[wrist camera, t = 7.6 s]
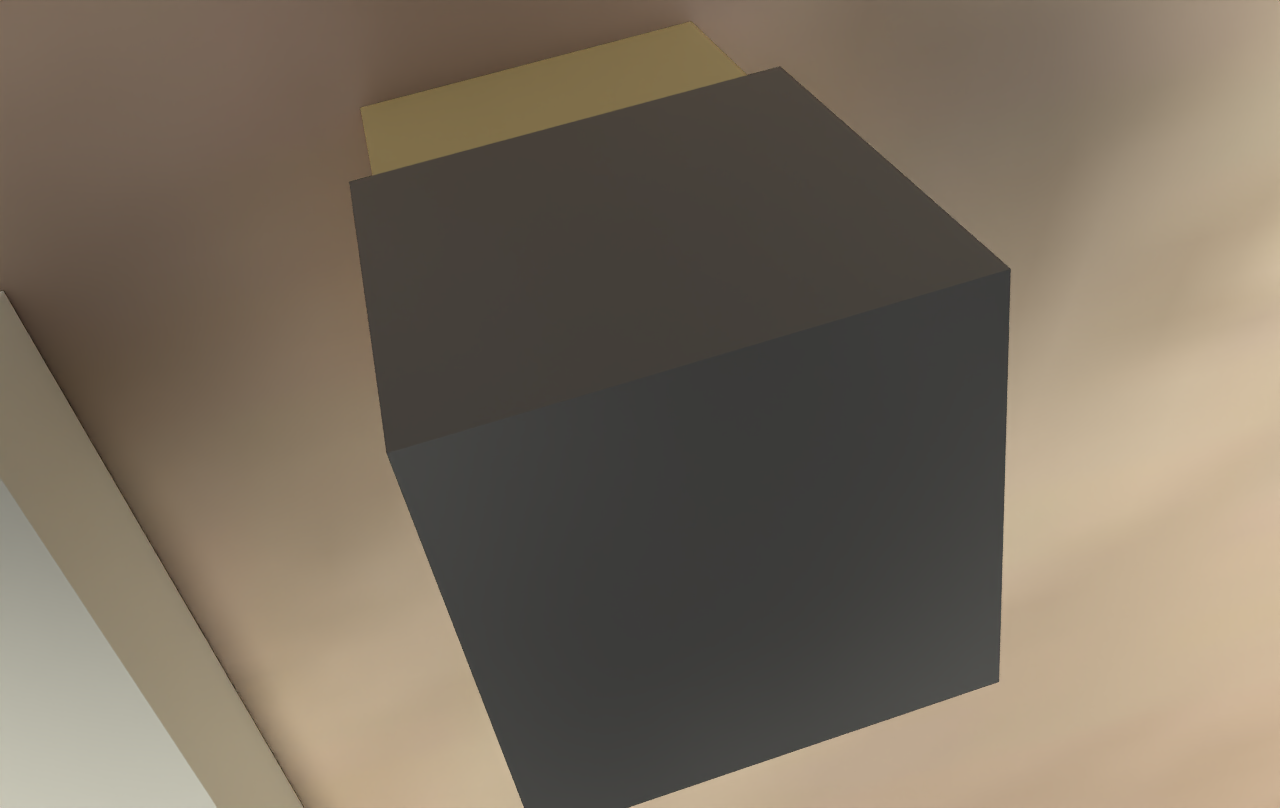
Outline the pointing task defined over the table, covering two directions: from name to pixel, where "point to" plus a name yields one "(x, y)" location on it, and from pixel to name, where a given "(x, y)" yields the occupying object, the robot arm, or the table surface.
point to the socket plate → (101, 633)
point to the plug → (683, 412)
